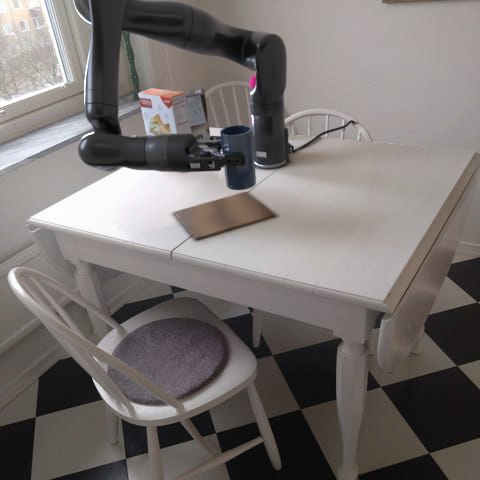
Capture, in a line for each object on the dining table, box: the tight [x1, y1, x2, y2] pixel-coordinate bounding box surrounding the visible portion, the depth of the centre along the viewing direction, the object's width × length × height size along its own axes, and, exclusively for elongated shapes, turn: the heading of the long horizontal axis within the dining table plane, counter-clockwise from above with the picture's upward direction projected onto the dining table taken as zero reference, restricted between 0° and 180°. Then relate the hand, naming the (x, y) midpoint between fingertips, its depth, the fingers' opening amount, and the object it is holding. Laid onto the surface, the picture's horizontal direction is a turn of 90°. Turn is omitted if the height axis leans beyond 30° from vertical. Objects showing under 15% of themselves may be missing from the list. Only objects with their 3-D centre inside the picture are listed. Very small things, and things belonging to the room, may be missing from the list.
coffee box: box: [184, 87, 211, 143], centre depth 158 cm, size 9×6×16 cm
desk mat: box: [173, 191, 276, 241], centre depth 119 cm, size 20×16×1 cm
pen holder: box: [219, 124, 257, 191], centre depth 99 cm, size 6×6×11 cm
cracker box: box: [137, 87, 192, 135], centre depth 143 cm, size 14×6×21 cm, turn 49°
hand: (249, 153), depth 98 cm, fingers closed on pen holder, 6 cm apart
